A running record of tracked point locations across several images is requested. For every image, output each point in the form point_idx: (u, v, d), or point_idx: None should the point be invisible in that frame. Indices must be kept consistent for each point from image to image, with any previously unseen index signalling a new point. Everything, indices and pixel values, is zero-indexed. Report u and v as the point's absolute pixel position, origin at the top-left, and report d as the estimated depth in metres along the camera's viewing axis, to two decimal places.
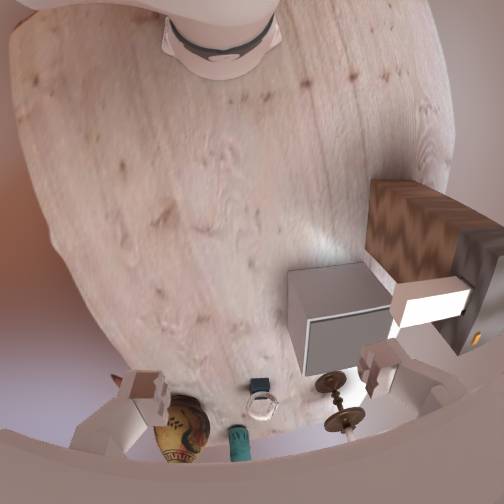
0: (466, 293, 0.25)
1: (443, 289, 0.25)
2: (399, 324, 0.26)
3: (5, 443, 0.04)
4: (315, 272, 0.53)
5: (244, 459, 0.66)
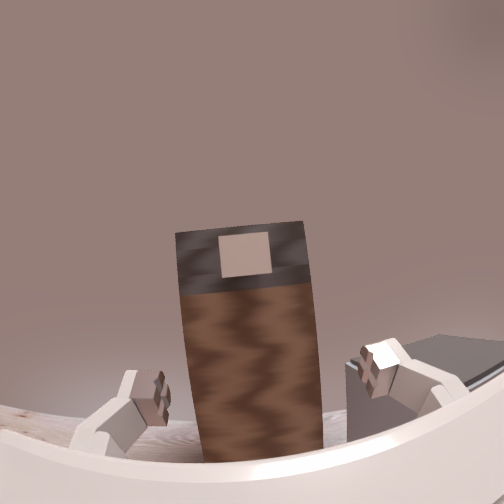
0: None
1: None
2: (263, 234, 0.21)
3: (5, 443, 0.04)
4: None
5: None
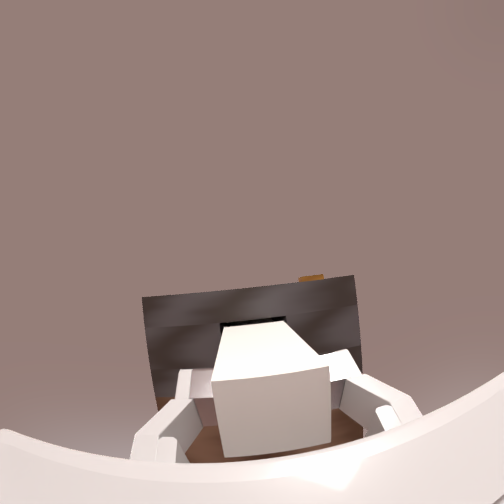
0: (231, 327, 0.16)
1: None
2: (319, 372, 0.08)
3: (5, 443, 0.04)
4: None
5: None
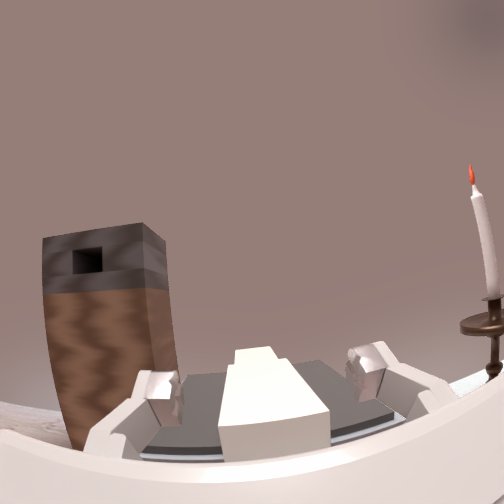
0: (235, 365, 0.16)
1: None
2: (320, 417, 0.08)
3: (5, 443, 0.04)
4: None
5: None
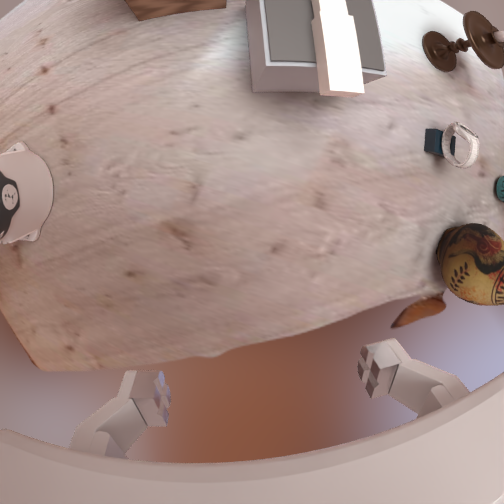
0: (324, 13, 0.19)
1: (321, 43, 0.21)
2: (360, 93, 0.23)
3: (5, 443, 0.04)
4: (251, 59, 0.34)
5: None
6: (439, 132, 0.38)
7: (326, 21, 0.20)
